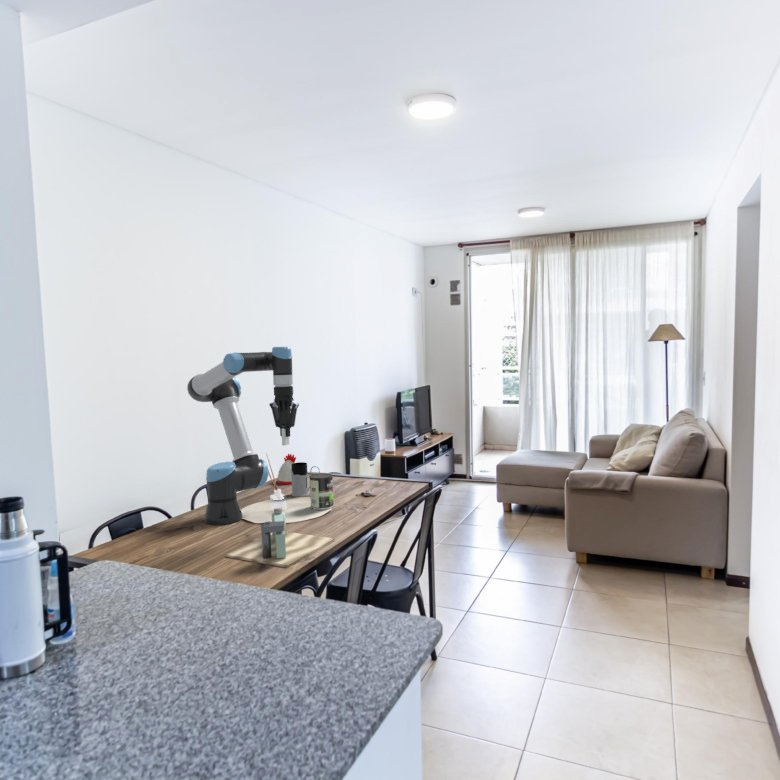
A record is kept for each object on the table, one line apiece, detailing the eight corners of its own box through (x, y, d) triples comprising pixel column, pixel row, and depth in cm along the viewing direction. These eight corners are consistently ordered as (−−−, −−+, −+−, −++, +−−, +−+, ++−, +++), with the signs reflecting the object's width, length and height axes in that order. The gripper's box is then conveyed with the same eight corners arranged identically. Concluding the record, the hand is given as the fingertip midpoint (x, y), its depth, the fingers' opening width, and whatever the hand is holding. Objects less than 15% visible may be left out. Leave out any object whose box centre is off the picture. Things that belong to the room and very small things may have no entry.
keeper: (262, 562, 190) (260, 527, 189) (263, 557, 195) (261, 522, 194) (285, 560, 191) (283, 525, 190) (285, 555, 196) (284, 520, 195)
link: (272, 532, 218) (271, 512, 218) (285, 531, 219) (284, 510, 219) (273, 558, 190) (272, 535, 190) (289, 557, 192) (288, 533, 191)
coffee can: (336, 503, 260) (335, 473, 259) (329, 510, 250) (328, 478, 249) (314, 503, 263) (313, 472, 262) (307, 509, 252) (305, 477, 251)
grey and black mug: (293, 492, 284) (292, 462, 283) (322, 491, 284) (320, 461, 283) (289, 496, 276) (288, 465, 275) (318, 496, 275) (317, 465, 274)
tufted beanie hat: (291, 485, 299) (290, 457, 298) (272, 483, 306) (270, 455, 305) (309, 480, 310) (308, 452, 309) (290, 477, 318) (289, 450, 317)
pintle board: (226, 556, 197) (224, 525, 196) (277, 532, 222) (276, 505, 221) (287, 567, 185) (286, 535, 184) (334, 540, 210) (333, 511, 209)
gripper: (302, 385, 228) (304, 444, 230) (276, 385, 234) (278, 442, 236) (291, 386, 221) (293, 447, 223) (264, 386, 227) (266, 445, 229)
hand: (285, 444), depth 229 cm, fingers closed
